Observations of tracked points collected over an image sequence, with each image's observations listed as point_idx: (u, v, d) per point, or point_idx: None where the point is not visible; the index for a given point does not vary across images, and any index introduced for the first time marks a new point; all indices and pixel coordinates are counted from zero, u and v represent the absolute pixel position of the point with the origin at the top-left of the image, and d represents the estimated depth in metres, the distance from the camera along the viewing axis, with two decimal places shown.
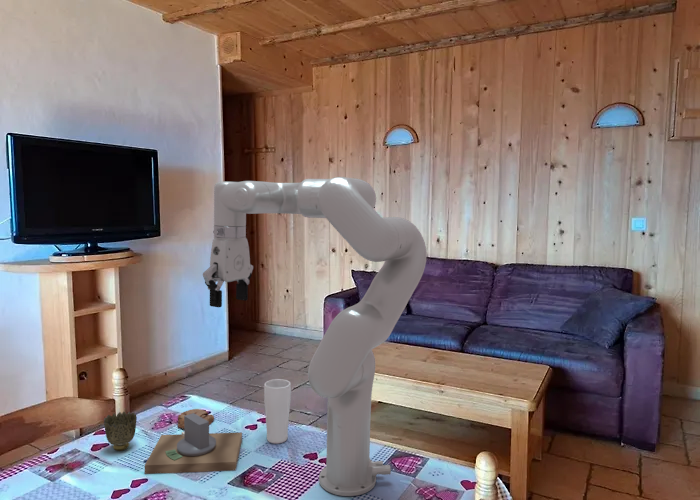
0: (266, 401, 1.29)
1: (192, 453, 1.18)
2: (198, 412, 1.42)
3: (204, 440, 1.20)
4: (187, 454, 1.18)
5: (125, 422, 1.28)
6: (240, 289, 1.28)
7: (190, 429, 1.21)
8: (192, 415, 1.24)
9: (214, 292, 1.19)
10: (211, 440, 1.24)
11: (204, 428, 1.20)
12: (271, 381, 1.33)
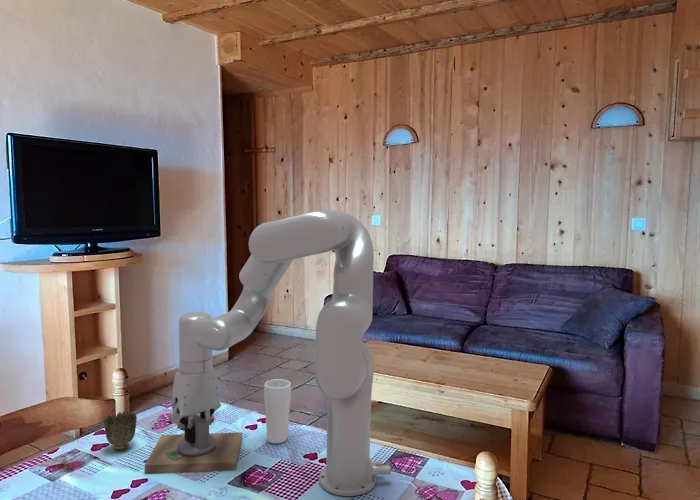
0: (266, 401, 1.29)
1: (192, 453, 1.18)
2: None
3: (204, 440, 1.20)
4: (187, 454, 1.18)
5: (125, 422, 1.28)
6: None
7: None
8: None
9: None
10: (211, 440, 1.24)
11: (204, 428, 1.20)
12: (271, 381, 1.33)
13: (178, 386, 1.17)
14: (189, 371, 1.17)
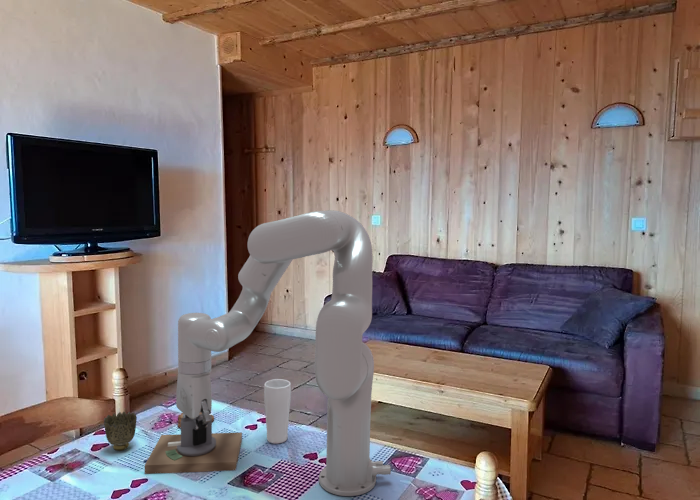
0: (266, 401, 1.29)
1: (210, 448, 1.20)
2: None
3: None
4: (207, 451, 1.19)
5: (125, 422, 1.28)
6: None
7: None
8: (186, 419, 1.22)
9: None
10: None
11: None
12: (271, 381, 1.33)
13: (205, 387, 1.18)
14: (209, 368, 1.20)
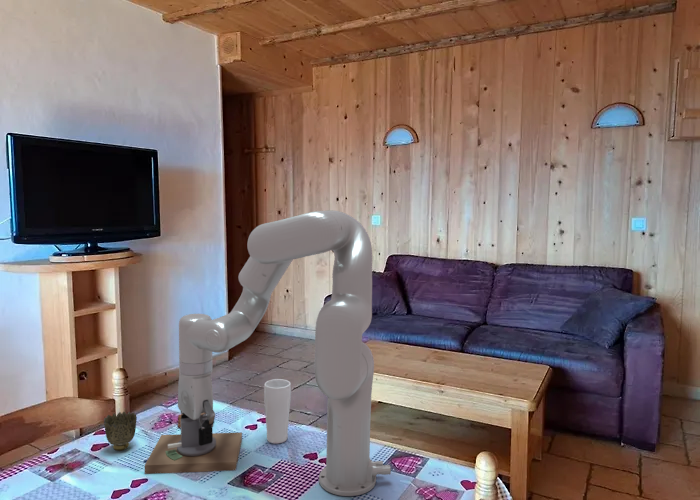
0: (266, 401, 1.29)
1: (212, 447, 1.21)
2: None
3: None
4: (209, 450, 1.20)
5: (125, 422, 1.28)
6: None
7: (195, 430, 1.21)
8: (185, 419, 1.21)
9: None
10: None
11: None
12: (271, 381, 1.33)
13: (207, 387, 1.18)
14: (210, 369, 1.20)
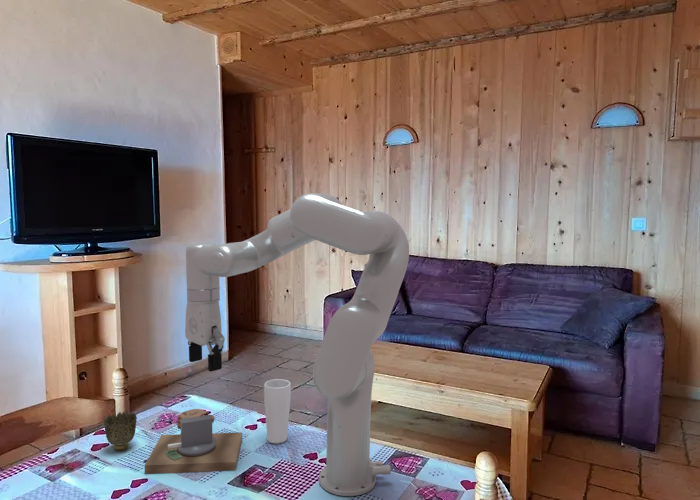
0: (266, 401, 1.29)
1: (212, 447, 1.21)
2: (198, 412, 1.42)
3: None
4: (209, 450, 1.20)
5: (125, 422, 1.28)
6: None
7: (195, 430, 1.21)
8: (185, 419, 1.21)
9: None
10: None
11: None
12: (271, 381, 1.33)
13: (215, 314, 1.18)
14: (218, 296, 1.21)
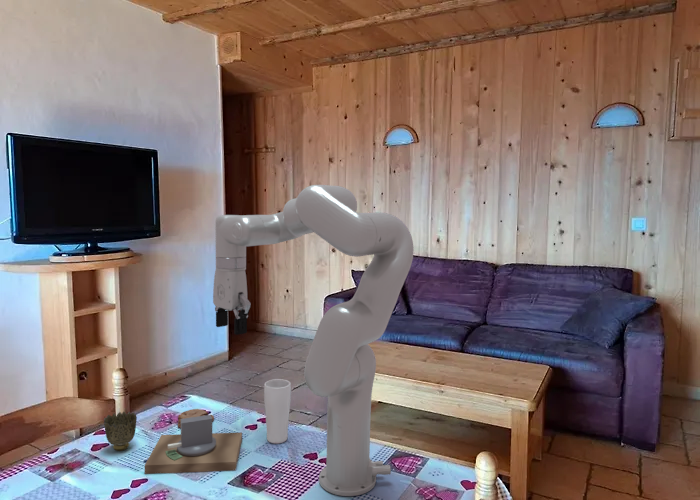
0: (266, 401, 1.29)
1: (212, 447, 1.21)
2: (198, 412, 1.42)
3: None
4: (209, 450, 1.20)
5: (125, 422, 1.28)
6: None
7: (195, 430, 1.21)
8: (185, 419, 1.21)
9: None
10: None
11: None
12: (271, 381, 1.33)
13: (242, 281, 1.26)
14: (244, 265, 1.29)
